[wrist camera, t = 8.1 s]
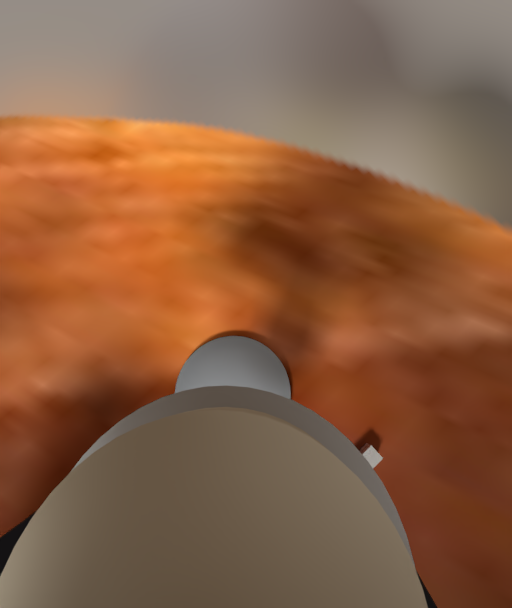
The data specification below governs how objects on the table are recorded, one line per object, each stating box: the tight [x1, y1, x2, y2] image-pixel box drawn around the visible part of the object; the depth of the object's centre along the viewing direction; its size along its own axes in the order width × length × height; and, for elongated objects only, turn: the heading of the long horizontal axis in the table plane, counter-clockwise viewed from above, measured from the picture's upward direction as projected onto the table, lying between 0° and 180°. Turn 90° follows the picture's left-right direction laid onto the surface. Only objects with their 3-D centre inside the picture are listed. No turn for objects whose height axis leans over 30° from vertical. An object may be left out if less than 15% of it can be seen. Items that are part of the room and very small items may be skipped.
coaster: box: [175, 336, 291, 399], centre depth 22 cm, size 8×8×1 cm
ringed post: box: [0, 385, 428, 608], centre depth 9 cm, size 5×5×13 cm
